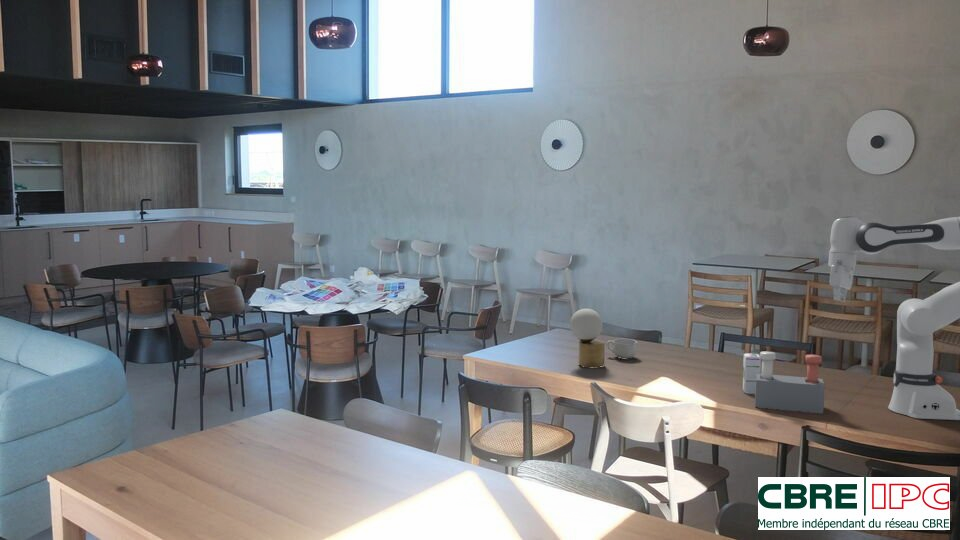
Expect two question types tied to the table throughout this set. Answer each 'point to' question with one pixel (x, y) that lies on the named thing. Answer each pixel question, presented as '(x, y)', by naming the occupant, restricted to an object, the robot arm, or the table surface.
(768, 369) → the grey bulb-shaped piece
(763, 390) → the block
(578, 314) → the lamp
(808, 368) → the red plug
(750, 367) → the syrup box
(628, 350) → the teacup
